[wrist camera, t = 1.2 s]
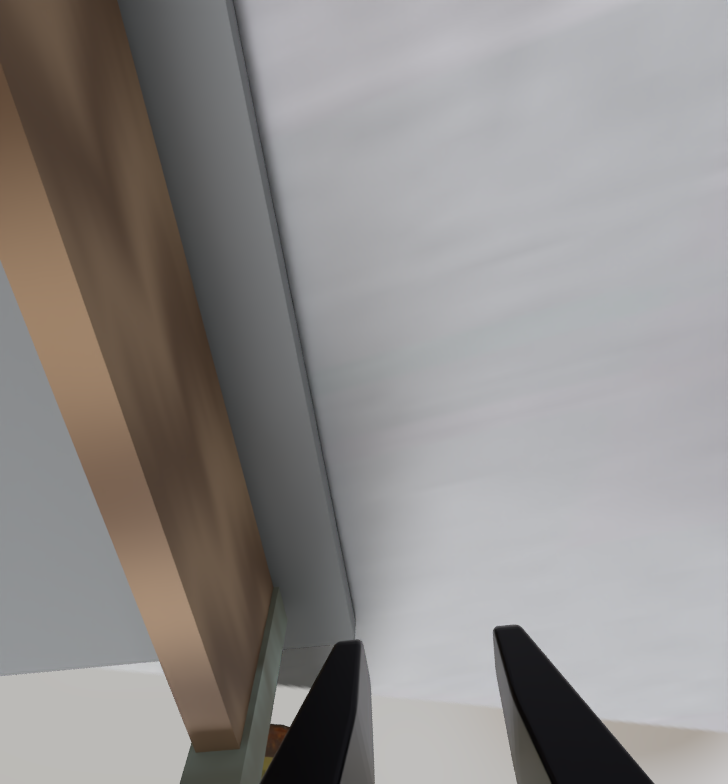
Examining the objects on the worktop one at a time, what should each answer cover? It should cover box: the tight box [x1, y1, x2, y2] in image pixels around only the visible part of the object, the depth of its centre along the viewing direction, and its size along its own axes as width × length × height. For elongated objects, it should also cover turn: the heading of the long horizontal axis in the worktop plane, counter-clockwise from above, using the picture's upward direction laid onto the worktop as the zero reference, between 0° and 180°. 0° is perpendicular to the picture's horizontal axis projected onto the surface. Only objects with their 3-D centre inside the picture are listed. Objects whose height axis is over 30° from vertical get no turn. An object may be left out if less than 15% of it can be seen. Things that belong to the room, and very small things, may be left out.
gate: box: [0, 0, 288, 784], centre depth 14 cm, size 22×2×7 cm, turn 8°
